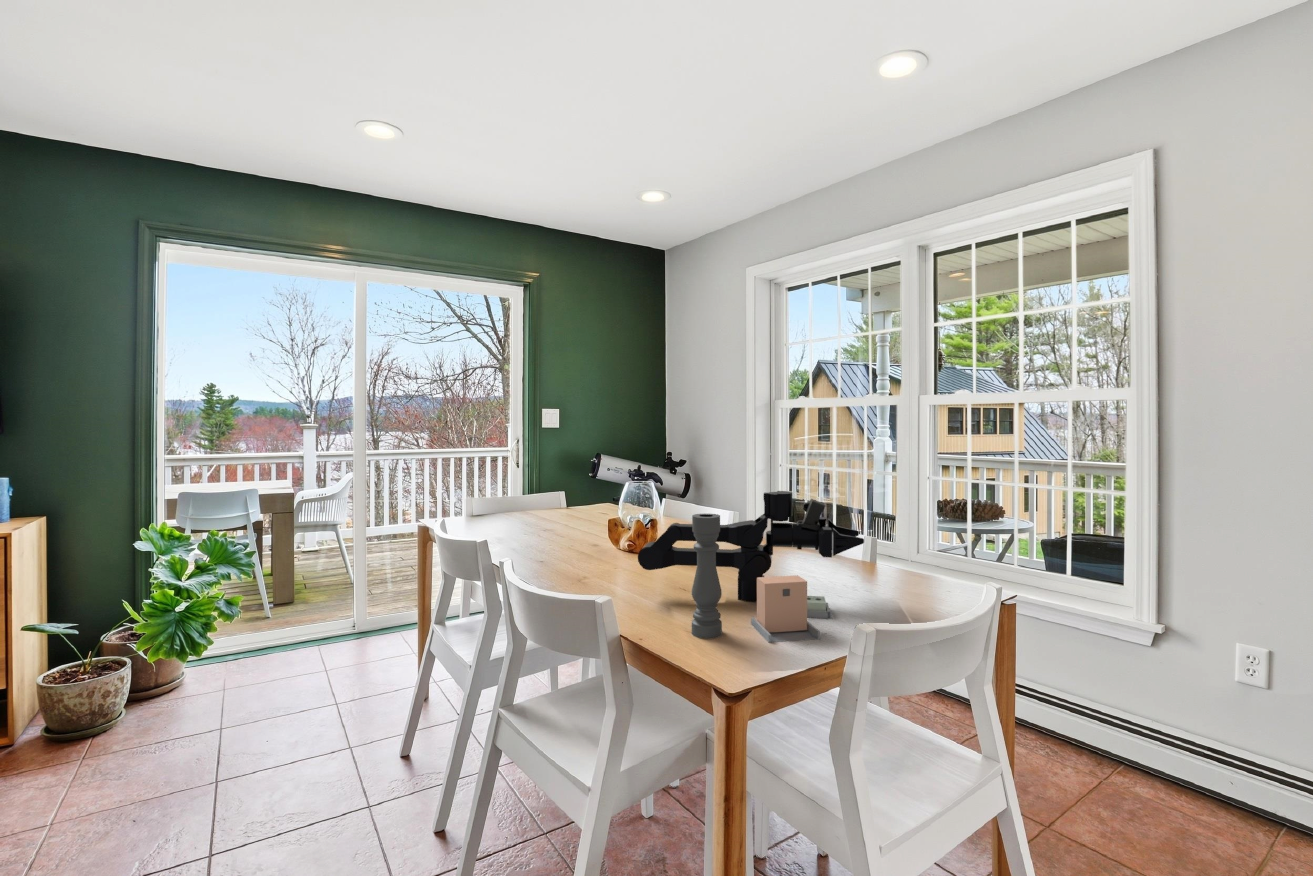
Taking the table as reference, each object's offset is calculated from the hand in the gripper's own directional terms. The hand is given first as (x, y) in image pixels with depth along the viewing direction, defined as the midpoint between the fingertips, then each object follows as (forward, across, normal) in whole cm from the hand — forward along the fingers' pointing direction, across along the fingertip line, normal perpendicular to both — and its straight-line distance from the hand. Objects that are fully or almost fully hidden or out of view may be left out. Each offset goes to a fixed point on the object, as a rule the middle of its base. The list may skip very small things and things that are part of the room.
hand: (861, 537), depth 149 cm
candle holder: (-33, -26, +17) cm, 45 cm away
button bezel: (-11, -9, +17) cm, 22 cm away
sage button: (-11, -9, +16) cm, 21 cm away
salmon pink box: (-18, -21, +16) cm, 32 cm away
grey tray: (-18, -22, +17) cm, 33 cm away
